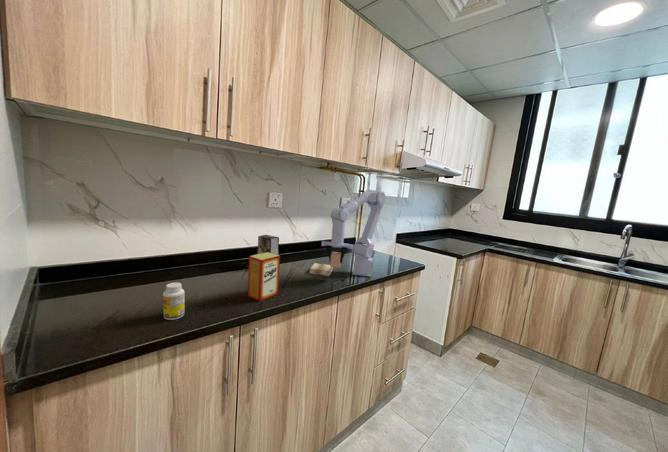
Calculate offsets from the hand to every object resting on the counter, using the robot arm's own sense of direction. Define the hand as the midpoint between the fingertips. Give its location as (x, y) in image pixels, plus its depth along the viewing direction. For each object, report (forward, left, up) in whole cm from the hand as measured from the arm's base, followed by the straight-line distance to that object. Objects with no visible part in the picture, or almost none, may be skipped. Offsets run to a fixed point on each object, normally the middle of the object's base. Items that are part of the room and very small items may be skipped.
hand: (335, 262), depth 122 cm
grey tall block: (+36, -6, -9) cm, 38 cm away
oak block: (+8, -9, -9) cm, 15 cm away
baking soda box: (+24, +27, -9) cm, 37 cm away
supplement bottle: (+43, +50, -9) cm, 67 cm away
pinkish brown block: (0, 0, -2) cm, 2 cm away
